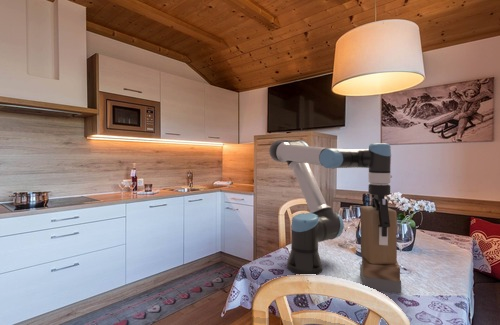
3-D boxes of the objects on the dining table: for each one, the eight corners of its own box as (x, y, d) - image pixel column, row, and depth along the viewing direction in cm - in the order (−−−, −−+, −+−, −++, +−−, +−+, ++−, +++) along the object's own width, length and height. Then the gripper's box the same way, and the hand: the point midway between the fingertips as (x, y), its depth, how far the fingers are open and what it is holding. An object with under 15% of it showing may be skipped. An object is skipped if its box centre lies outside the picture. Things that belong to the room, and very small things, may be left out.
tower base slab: (365, 290, 98) (365, 277, 98) (360, 276, 109) (360, 264, 109) (401, 294, 95) (401, 281, 95) (391, 279, 107) (391, 267, 106)
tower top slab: (363, 276, 98) (363, 263, 98) (361, 264, 110) (362, 252, 109) (399, 281, 94) (400, 268, 94) (394, 268, 105) (394, 256, 105)
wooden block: (384, 254, 106) (384, 205, 106) (397, 265, 96) (398, 210, 96) (359, 254, 107) (359, 205, 106) (370, 264, 97) (370, 210, 96)
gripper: (401, 187, 88) (400, 251, 88) (381, 181, 112) (380, 230, 112) (376, 187, 89) (375, 249, 90) (362, 180, 114) (362, 229, 114)
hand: (378, 239), depth 101 cm, fingers open, 13 cm apart
